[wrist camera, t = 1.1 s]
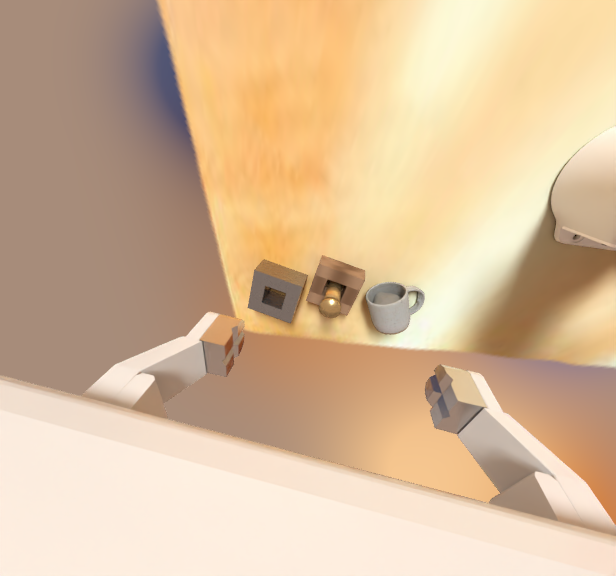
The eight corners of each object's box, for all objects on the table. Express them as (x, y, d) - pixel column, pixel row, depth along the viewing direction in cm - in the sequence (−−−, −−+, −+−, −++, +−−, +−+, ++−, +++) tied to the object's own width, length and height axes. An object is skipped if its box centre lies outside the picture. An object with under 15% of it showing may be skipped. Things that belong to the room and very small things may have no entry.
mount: (364, 270, 47) (364, 280, 43) (348, 304, 52) (347, 315, 48) (322, 255, 47) (319, 263, 43) (309, 290, 52) (306, 300, 48)
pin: (347, 276, 48) (344, 304, 40) (341, 291, 50) (336, 320, 42) (330, 270, 48) (323, 297, 40) (324, 285, 50) (316, 313, 42)
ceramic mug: (373, 316, 52) (374, 341, 45) (364, 285, 48) (365, 307, 42) (424, 308, 49) (435, 333, 42) (420, 274, 45) (430, 296, 38)
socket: (307, 275, 50) (302, 287, 46) (296, 309, 55) (290, 323, 51) (263, 259, 50) (254, 269, 46) (256, 295, 55) (247, 307, 51)
